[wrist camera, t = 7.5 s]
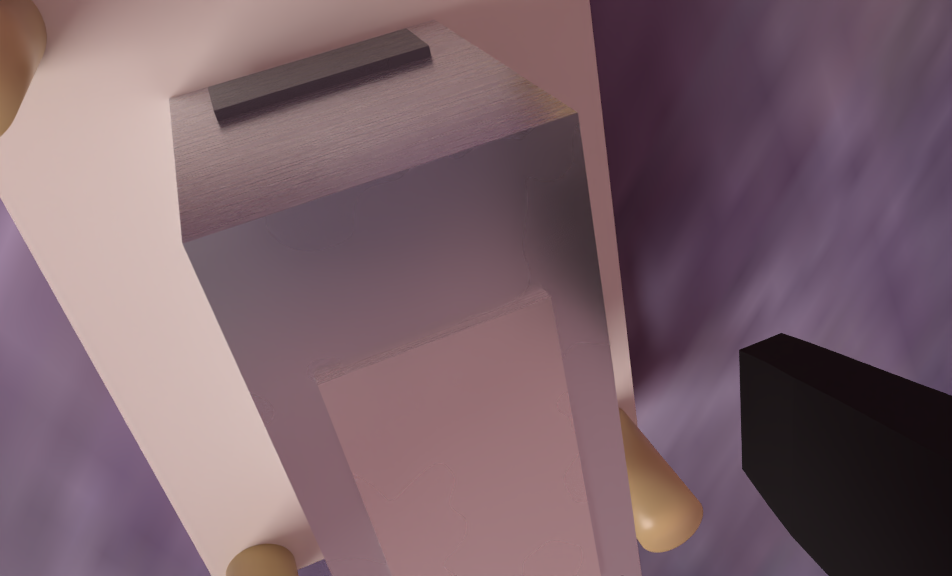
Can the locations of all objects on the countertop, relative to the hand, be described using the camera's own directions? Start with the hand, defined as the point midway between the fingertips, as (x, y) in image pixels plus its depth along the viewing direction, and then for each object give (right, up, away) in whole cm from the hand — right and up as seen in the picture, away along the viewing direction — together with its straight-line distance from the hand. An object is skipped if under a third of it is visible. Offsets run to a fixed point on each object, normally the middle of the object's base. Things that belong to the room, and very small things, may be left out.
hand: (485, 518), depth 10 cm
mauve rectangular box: (-2, +3, +5) cm, 6 cm away
